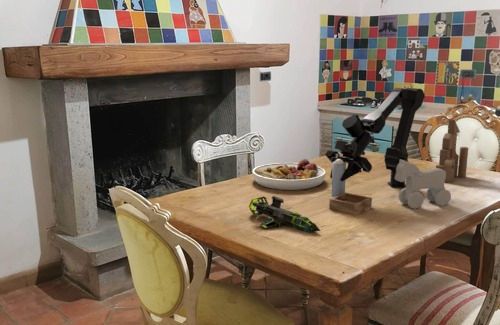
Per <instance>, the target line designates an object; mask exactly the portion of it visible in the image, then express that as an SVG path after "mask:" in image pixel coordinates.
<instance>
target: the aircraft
mask: <svg viewBox="0 0 500 325" xmlns="http://www.w3.org/2000/svg"><path fill="white" fill-rule="evenodd" d="M271 199H272V200H271V201H272V202H271V204H269V201H268V199H267V197H266V196H259V197H256V198H252V199H251V201H250V203H249V205H248V208H249V211H250V212H251V213H252V215H253V216H254V217H255V218H257V216H258V215H264V216H267V217H270V218H268V219H266V220H265V221H263V222H262V223H260V224H259V227H262V228H265V229H269V228H272V227H275V228H278V229H279V228H280V226H281V224H284V225H285V226H286V225H287V226H288V227H291V228H296V229H297V230H300V231H301V232H303V231H304V232H310V233H314V232H321V229H320V228H319V227H318V226H317V224H316V223H315V222H313V221H311V219H309V217H307V216H302V214H300V213H297V212H293V211H290V210H287V209H285V208H281V204H285V203H284V198H281V197H278V196H275V195H273V196H271Z"/></svg>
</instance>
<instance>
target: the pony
mask: <svg viewBox="0 0 500 325" xmlns="http://www.w3.org/2000/svg"><path fill="white" fill-rule="evenodd" d="M445 178H446V172H445V171H444V170H442V169H439V168H436V167H432V168H428V169H424V170H420V169H419V168H418V166H417V165H416V164H414V163H412V162H411V161H408V162H407V161H404V160H401V159H400V160H399V164H398V165H397V168H396V175H395V180H397V181H399V182H404V181H405V184H406V187H403V188H402V189H401V191H399V194H398V200H399V202H400V203H401V204H403V205H408V207H409V208H410V209H413V210H414V209H415V210H417V209H419V208H420V207H421V206H422V205H423V204H424V201H425V200H424V195H423V194H422V192H420V190H423V189H424V190H426V192H425V196H426V197H425V198H426V199H427V200H428V201H430V202H431V201H432V202H435V203H436V205H437V206H440V207H445V206H446V205H448V204H449V203H450V201H451V199H452V196H451V195H452V194H451V192H450V190H447V189H446V187H445V183H446V182H445ZM416 208H417V209H416Z"/></svg>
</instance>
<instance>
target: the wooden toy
mask: <svg viewBox="0 0 500 325" xmlns="http://www.w3.org/2000/svg"><path fill="white" fill-rule="evenodd" d="M447 123H448V125H447V133H444V135H443V137H442V143H441V149H440V150H439V160H438V164H437V165H435V168H439V169H442V170H444V171H445V172H446V178H445V182H444V183H448V184H451V183H454V181H455V180H454V178H455V177H459V178H466V177H467V168H468V167H467V166H468V156H469V147H467V146H461V147H459V154H458V153H457V141H458V140H457V139H458V134H459V133H460V132H461V131H460V129H459V126H458V125H457V122H456V119H450V118H449V119H448V122H447Z"/></svg>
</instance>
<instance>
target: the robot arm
mask: <svg viewBox="0 0 500 325" xmlns="http://www.w3.org/2000/svg"><path fill="white" fill-rule="evenodd" d="M425 98H426V94H425V92H424V90H423V89H422V88H416V87H415V88H414V87H406V88H404V87H394V88H393V89H392V90H391V92H390V93H389V95H387V97H386V98H385V99H384V100H383V102H381V104H380V105H379V107H377V109H376V110H374V111H372V112H370V113H368V114H366V115H365V116H364V117H363V118H362V119H360V116H359V114H356V113H352V115H351V116H348V117H347V118H345V119H344V120H343V121H342V124H341V126H342V128H343V129H344V130H345V131H346V133H347V134H348V136H349V137H351V138H352V140H348V141H345V140H340V139H337V140H336V142H335V144H334V149H335V150H333V149H328V150H327V151H326V153H325V155H324V156H326V158H327V159H328V160H329V161H330V162H331V163H332V162H335V161H336V160H337V159H341V160H343V162H346V164H347V166H346V170H345V172H344V174H343V175H342V177H341V179H340V180H341V181H344V180H345V181H346V180H347V179H349V178H351V177H353V176H355V175H357V174H359V173H360V174H361V173H362V172H364V173H368V174H369V173H370V172H371V171H372V169H373V165H372V163H371V162H370V160H368V158H367V157H365V155H366V152H365V151H366V149H367V147H368V146H369V144H373V145H374V144H375V142H376V140H375V137H374V135H371V134H375V135H377V134H380V133H381V132H382V131H383V129H384V127H385V126H386V121H387V119H388V117H389V116H390V115H391V114H392V112H394V110H395V109H396V108H397V106H399V105H401V107H402V111H401V115H400V118H399V122H398V126H397V129H396V133H395V135H394V136H395V138H394V140H393V141H394V142H393V144H392V145H391V146H390V147H389V146H388V147H387V148H386V149H385V153H384V154H385V155H384V164H385V169H386V170H389V171H390V181H388V182H387V185H388V186H390V187H391V188H406V180H405V181H404V182H399V181H397V180H395V175H396V168H397V165H398V164H399V160H400V159H401V160H404V161H407V162H409V160H408V159H409V152H408V149H407V146H408V142H409V137H410V134H411V130H412V126H413V122H414V118H415V115H416V112H417V111H418V110H419V109H420V108H421V107H422V106H423V102H424V100H425ZM337 150H339V152H338V151H337ZM329 174H330V175H329V178H330V179H331V180H332V169H331V170H330V173H329Z"/></svg>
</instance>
